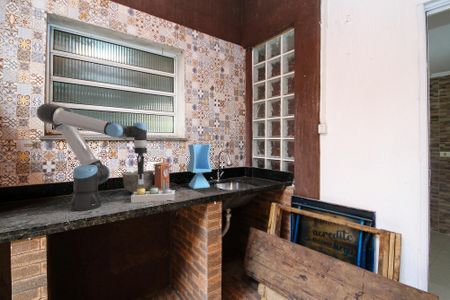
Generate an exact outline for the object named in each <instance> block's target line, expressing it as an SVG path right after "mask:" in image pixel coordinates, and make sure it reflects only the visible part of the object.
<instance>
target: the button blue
mask: <svg viewBox="0 0 450 300" xmlns="http://www.w3.org/2000/svg"><path fill="white" fill-rule="evenodd" d="M171 190H172V189H171V188H169V189H164V190H163V194H166V193H171Z"/></svg>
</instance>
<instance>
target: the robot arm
mask: <svg viewBox="0 0 450 300" xmlns="http://www.w3.org/2000/svg"><path fill="white" fill-rule="evenodd" d="M36 115H37V118H38V119H39V121H41V122H42V123H45V124H49V125H52V126H53V129H54V130H55V131H57V132H60V133H61V135H62V137H63V138H64V139H65V142H66V143H67V144H68V146H69V147H70V149H71V151H72V153H73V154H74V155H75V157H76V159H77V160H78V162H79V164H80V165H79V166H76V167H74V168H73V173H72V176H73V177H72V179H73V196H72V199H71V202H70V205H69V208H70V210H71V211H73V212H74V211H75V212H76V211H77V212H81V211H89V210H90V211H91V210H93V209H94V210H95V209H98V208H100V207H102V202H103V201H102V199H101V197H100V194H99V189H98V188H99V185H102V184H104V183H105V182H107V181H108V180H109V178H110V177H111V176H110V174H111V172H110V169H109V167H108V166H107V165H105V164H103V163H102V161H101V159H99V158H96V156H95V155H94V153H93V152H92V150H91V148H90V147H89V145H88V144H87V142H86V140H85V139H84V137H83V136H82V134H81V133H80V131H79V130H78V129H82V130H85V131H88V132H89V131H90V132H94V133H98V134H101V135H105V136H108V137H111V138H115V139H116V138H118V139H124V138H125V139H128V138H130V139H134V140H133V147H134V149H133V153H134V154H137V156H136V160H137V171H138V173H137V174H138V184H143V174H144V173H143V172H144V170H145V169H144V167H145V166H144V163H145V156H144V155H145V154H147V152H148V148H147V147H148V146H147V145H148V143H149V142H148V140H147V139H148V138H147V137H148V136H147V135H148V129H147V123H145V122H134V123H133V125H123V124H118V123H114V122H110V121H106V120H102V119H98V118H94V117H92V116H87V115H84V114H79V113H77V112H76V113H74V111H73V110H72V109H70V108H68V107H66V106H64V105H63V106H62V105H58V104H54V103H50V102H49V103H43V104H40V105H39V106H38V107H37V109H36Z"/></svg>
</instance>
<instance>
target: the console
mask: <svg viewBox="0 0 450 300" xmlns="http://www.w3.org/2000/svg"><path fill="white" fill-rule="evenodd" d="M175 194H176V190H175V189H174V190H173V189H171V193H166V194H163V191H158V194H150V190H148V191H147V190H146V191H145V195H137V192H134V193H132V194H131V196H130V203H131V204H133V203H134V204H135V203H151V201H154V202H168V201H167V200H172V201H176V198H175V197H176V195H175Z"/></svg>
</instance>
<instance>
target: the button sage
mask: <svg viewBox="0 0 450 300" xmlns="http://www.w3.org/2000/svg"><path fill="white" fill-rule="evenodd" d="M149 191H150V194H158V188H155V187H150V188H149Z"/></svg>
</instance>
